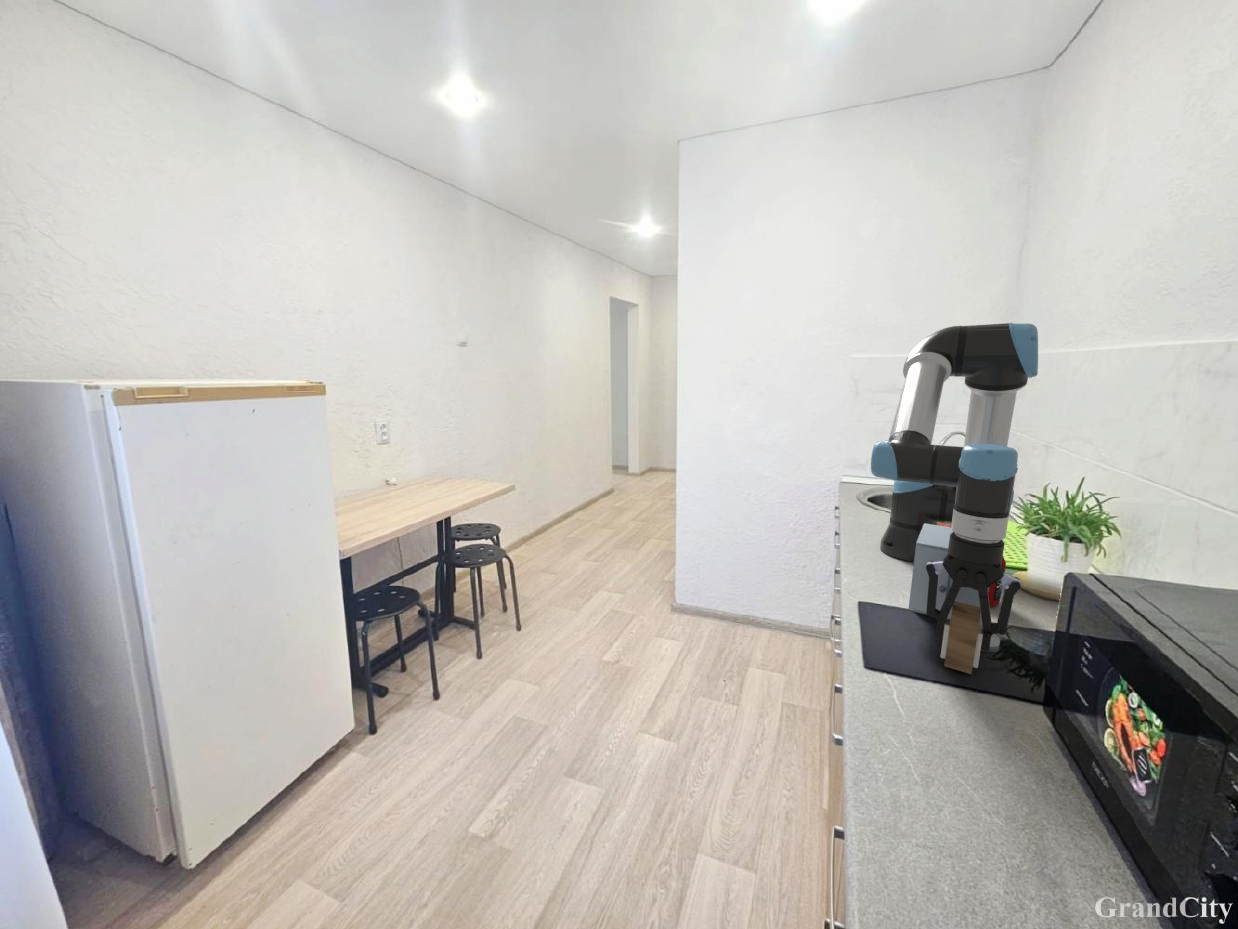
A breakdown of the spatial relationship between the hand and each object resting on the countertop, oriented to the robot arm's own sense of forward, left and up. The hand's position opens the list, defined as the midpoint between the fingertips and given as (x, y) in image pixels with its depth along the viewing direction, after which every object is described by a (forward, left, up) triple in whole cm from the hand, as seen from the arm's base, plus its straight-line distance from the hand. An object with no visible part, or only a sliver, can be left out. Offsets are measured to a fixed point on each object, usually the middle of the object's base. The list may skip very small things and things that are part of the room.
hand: (959, 658), depth 87 cm
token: (-12, +4, -2) cm, 13 cm away
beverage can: (-33, +3, -2) cm, 33 cm away
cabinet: (-14, -3, -2) cm, 15 cm away
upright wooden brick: (-6, 0, -1) cm, 7 cm away
